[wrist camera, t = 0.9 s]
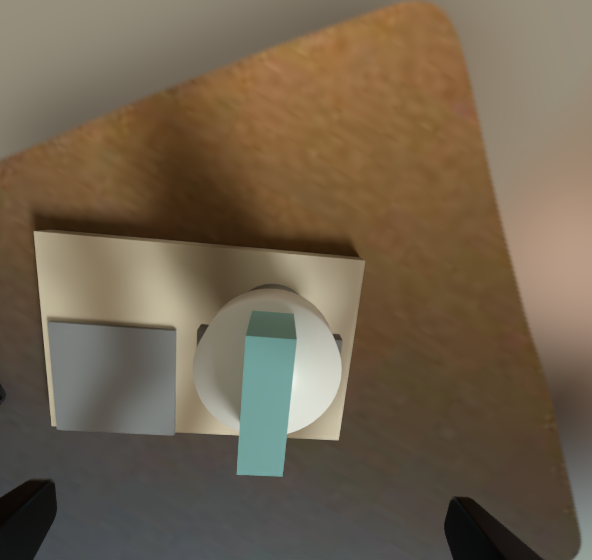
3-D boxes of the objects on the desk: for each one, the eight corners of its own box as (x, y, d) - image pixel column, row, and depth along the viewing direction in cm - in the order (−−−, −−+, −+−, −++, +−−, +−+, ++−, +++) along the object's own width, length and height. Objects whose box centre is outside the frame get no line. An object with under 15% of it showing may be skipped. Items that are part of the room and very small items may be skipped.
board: (64, 413, 21) (-6, 481, 16) (49, 229, 18) (-41, 239, 13) (335, 427, 22) (351, 494, 17) (360, 257, 19) (388, 276, 14)
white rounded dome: (202, 403, 15) (172, 481, 11) (206, 283, 14) (173, 318, 10) (325, 410, 16) (342, 488, 11) (341, 293, 14) (367, 332, 10)
